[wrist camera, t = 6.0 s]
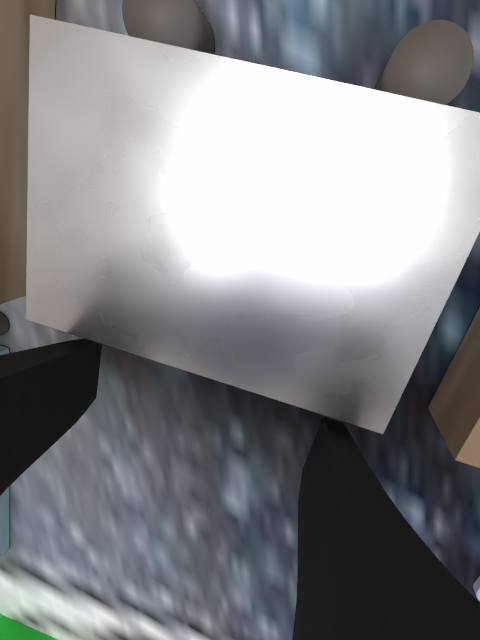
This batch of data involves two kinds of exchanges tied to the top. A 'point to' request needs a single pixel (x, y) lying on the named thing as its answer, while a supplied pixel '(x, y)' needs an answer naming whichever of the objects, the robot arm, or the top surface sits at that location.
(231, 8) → the top surface
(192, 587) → the top surface
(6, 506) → the bar
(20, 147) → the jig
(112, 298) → the block
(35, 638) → the mechanical part
